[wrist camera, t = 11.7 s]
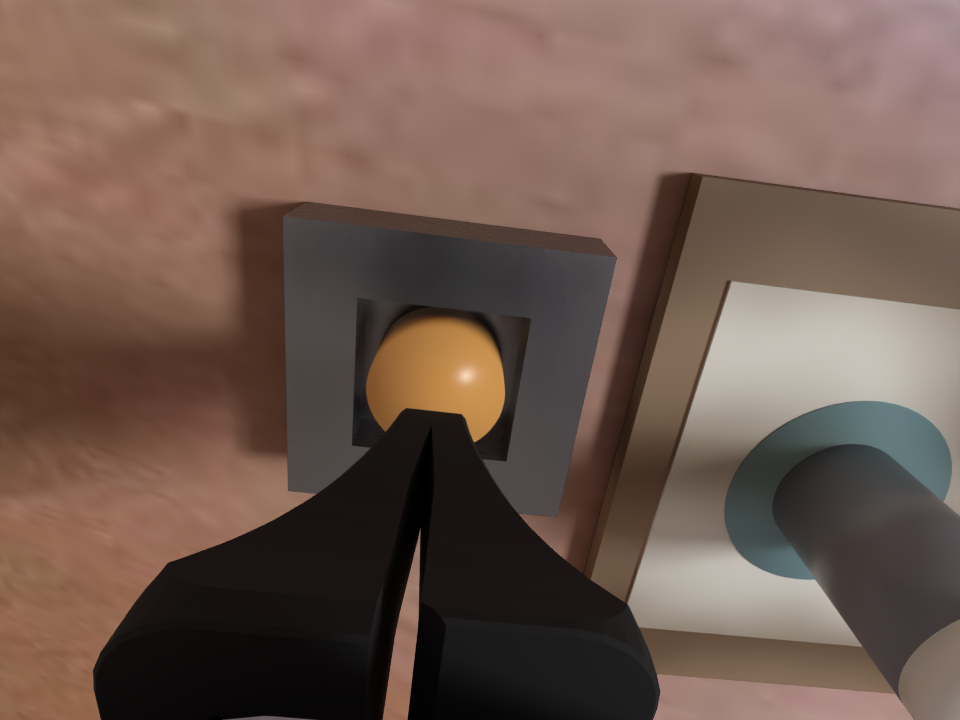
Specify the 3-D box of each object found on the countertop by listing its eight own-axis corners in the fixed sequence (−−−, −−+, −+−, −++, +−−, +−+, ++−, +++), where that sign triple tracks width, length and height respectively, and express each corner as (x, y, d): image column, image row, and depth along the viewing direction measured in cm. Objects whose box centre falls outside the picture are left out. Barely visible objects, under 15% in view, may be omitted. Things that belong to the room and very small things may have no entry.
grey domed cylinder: (868, 551, 19) (1066, 778, 13) (754, 538, 19) (897, 763, 12) (924, 452, 17) (1184, 656, 11) (799, 436, 17) (991, 636, 11)
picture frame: (901, 676, 23) (918, 699, 22) (563, 647, 22) (567, 670, 21) (1185, 239, 16) (1227, 247, 15) (691, 172, 15) (705, 177, 14)
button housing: (549, 477, 19) (556, 517, 17) (306, 452, 18) (288, 490, 17) (600, 238, 16) (617, 257, 14) (306, 201, 15) (282, 215, 13)
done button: (493, 425, 17) (494, 458, 16) (373, 412, 17) (363, 444, 15) (511, 314, 16) (514, 338, 14) (380, 299, 15) (369, 321, 14)
